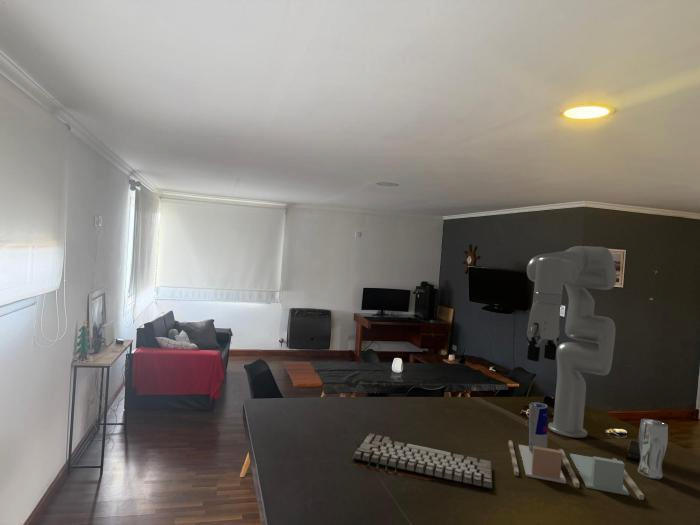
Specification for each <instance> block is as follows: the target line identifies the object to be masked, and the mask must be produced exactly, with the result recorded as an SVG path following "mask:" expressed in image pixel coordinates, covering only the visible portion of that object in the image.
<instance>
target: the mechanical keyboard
mask: <svg viewBox="0 0 700 525" xmlns="http://www.w3.org/2000/svg"><path fill="white" fill-rule="evenodd" d="M352 458H353V459H352V460H351V463H354V466H356V467H361V468H364V469H369V470H374V471H379V472H382V473H389V474H392V475H396V476H406V477H409V478H410V477H411V478H414V479H415V478H416V479H419V480H420V479H421V480H425V481H436V482H437V481H438V482H443V483H448V484H453V485H457V486H462V487H466V488H471V489H475V490H480V491H486V492H491V493H493V486H494V480H493V475H492V474H493V473H492V471H493V469H492V467H493V466H492V463H491V460H485V459H482V458H481V459H479V461H478V458H477V457H472V456H466V457H465V455H462V454H457V453H453V455H452V454H451V452H450V451H449V452H448V451H445V450H440V449H435V448H432V447H427V446H421V445H416V444H412V443H407V444H405V442H399V441H394V443H393V441H392V440H391V438H390V437H389V436H384V437H383V436H382V435H379V434H377V435H376V434H375V433H369V434H368V435H367V436H366V438H365V439H364V441H361V442H360V444H359V445H358V446H357V450H355V452H354V455H353V456H352Z"/></svg>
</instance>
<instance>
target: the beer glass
mask: <svg viewBox="0 0 700 525" xmlns="http://www.w3.org/2000/svg"><path fill="white" fill-rule="evenodd" d="M668 429H669V425H668V424H667V423H665V422H662V421H660V420H655V419H650V418H642V419H640V425H639V430H638V448H639V464H638V467H637V473H638V474H640V475H641V476H643V477H646V478H649V479H652V480H653V479H654V480H662V479H663V476H664V475H663V461H664V458H665V455H666V452H667V451H666V450H667V446H668V442H669V441H668V440H669V438H668V437H669V430H668Z"/></svg>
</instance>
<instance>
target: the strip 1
mask: <svg viewBox="0 0 700 525" xmlns="http://www.w3.org/2000/svg"><path fill="white" fill-rule="evenodd" d="M518 449H519V453H520V457H522V458H521V461H523V462H522V465H523V469H524V473H525V476H526V477H530V478H533V479H534V478H535V479H540V480H545V481H552V482H555V483H561V484H567V480H566V477H565V475H564V473H563V471H562V469H561V468H562V461H563V460H562V452H561V451H560V450H559V449H554V448H548V447H547V448H543V447H537V446H533V454H532V453H531V452H530V451H529V445H524V444H523V445H522V444H518Z"/></svg>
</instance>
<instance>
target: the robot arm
mask: <svg viewBox="0 0 700 525" xmlns="http://www.w3.org/2000/svg"><path fill="white" fill-rule="evenodd" d="M526 266H527V267H526V274H527V275H526V276H527V278H528V279H529V280H530V281H531V282H533V283H534V289H533V298H532V306H531V308H530V312H529V317H528V323H527V324H528V325H527V330H526V336H527V354H526V355H527V356H526V357H527V358H526V359H527V360H529V361H533V362H539V361H540V353H541V352H540V351H541V347H540V344H541V343H542V341H545V342H546V344H545V345H544V353H543V354H544V355H543V359H547V360H551V361H555V360H556V367H557V371H556V373H557V375H556V386H555V387H556V389H555V398H554V411H553V419H552V420H553V421H551V422H549V423H547V429H549V430H550V431H551V432H553V433H555V434H558V435H561V436H565V437H569V438H575V439H576V438H577V439H578V438H579V439H581V438H586V437H588V431H587V430H586V429H585V428H584V418H585V417H584V416H585V404H586V394H587V384H586V380H585V378H584V377H583V375H582V374H581V373H587V374H593V375H597V376H606V375H609V374H610V371H611V369H612V365H613V356H614V349H615V341H616V340H615V339H616V325H615V321H614V320H613V319H612V318H611V317H608V316H603V315H595V314H594V312H595V306H596V302H595V299H594V297H593V296H592V294H591V293H590V292H589V291H588V290H587V289H593V290H595V289H596V290H602V291H604V290H605V291H607V290H608V291H609V290H612V289H613V288H614V287H615V285H616V283H617V277H618V276H617V270H616V265H615V261H614V257H613V255H612V252H611V251H610V250H609V249H608V248H607V247H604V246H589V245H588V246H587V245H576V246H572V247H569V248H568V249H566V250H564V251H556V252H550V253H542V254H539V255H535V256H533V257H532V258H531V259H529V262H528V263H527V265H526ZM564 286H565V290H566V293H567V297H568V305H567V306H568V307H567V312H566V318H565V326H564V331H565V335H566V336H567V337H568V338H570V339H573V340H578V341H583V342H589V343H596V344H597V345H598V346H596V345H590V344H585V343H579V342H578V343H577V342H571V341H570V342H569V341H568V342H567V341H566V342H565V341H564V342H562V343H560V344H559V342H558V341H559V340H560V338H559V336H560V333H561V331H560V315H561V313H560V308H561V307H562V300H563V288H564ZM558 344H559V345H558Z"/></svg>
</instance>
